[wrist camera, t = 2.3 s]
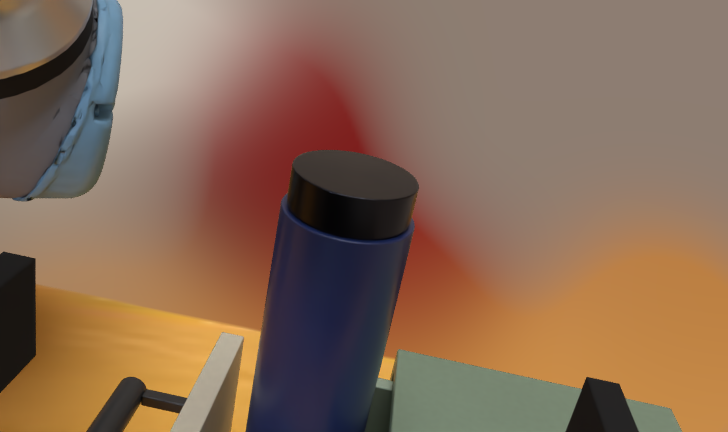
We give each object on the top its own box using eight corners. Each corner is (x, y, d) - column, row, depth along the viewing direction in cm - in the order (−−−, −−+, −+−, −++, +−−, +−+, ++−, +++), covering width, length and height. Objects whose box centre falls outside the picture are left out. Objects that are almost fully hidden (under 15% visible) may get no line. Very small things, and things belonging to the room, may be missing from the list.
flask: (218, 552, 30) (273, 182, 23) (248, 467, 35) (301, 138, 28) (332, 578, 30) (423, 214, 23) (346, 489, 35) (425, 165, 28)
